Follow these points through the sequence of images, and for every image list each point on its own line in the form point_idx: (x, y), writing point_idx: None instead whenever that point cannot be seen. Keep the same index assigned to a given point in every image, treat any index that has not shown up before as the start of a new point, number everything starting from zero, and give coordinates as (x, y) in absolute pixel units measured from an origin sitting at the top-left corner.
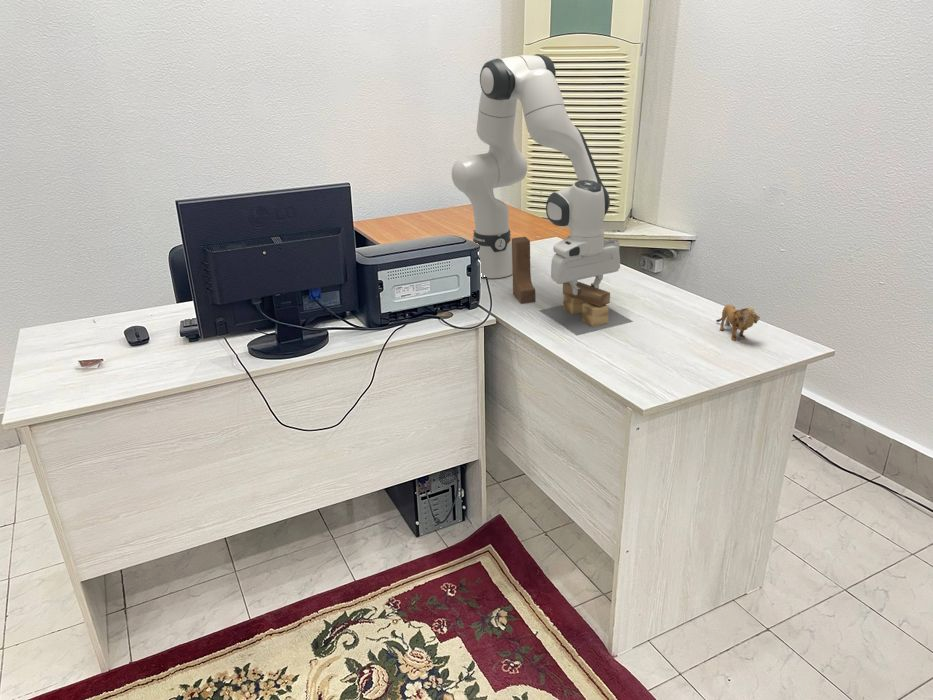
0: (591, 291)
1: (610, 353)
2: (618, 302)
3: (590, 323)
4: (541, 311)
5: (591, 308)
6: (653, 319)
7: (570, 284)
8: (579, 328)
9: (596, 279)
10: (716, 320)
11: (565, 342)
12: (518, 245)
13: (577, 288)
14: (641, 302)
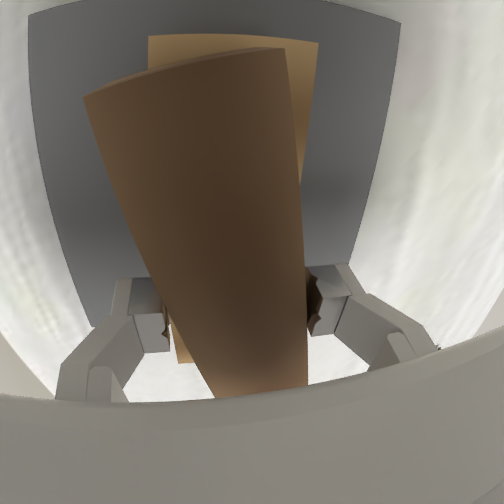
0: (229, 373)
1: (147, 400)
2: (444, 132)
3: None
4: (30, 35)
5: (179, 354)
6: (390, 302)
7: (80, 348)
8: None
9: (373, 333)
10: (439, 349)
11: (49, 334)
12: None
13: (137, 360)
14: (477, 184)
